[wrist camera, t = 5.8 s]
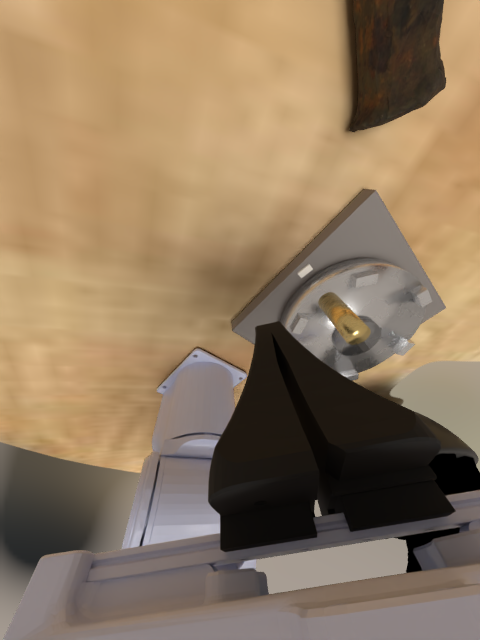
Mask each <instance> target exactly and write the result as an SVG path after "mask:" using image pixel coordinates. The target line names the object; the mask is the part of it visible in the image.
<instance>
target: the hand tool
mask: <svg viewBox="0 0 480 640" xmlns="http://www.w3.org/2000/svg"><path fill="white" fill-rule="evenodd" d="M443 4H444V0H354V8H353V20H354V24H355V29H356V47H357V69H358V88H359V91H358V107H357V112H356V116H355V118H354V120H353V122H352V124H351V126H350V131H352V132H355V131H357V130H364V129H367V128H371V127H375V126H380V125H383V124H385V123H388V122H390V121H392V120H394V119H397V118H399V117H401V116H403V115H405V114H407V113H409V112H411V111H413V110H416V109H419V108H421V107H423V106H424V105H426V104H427V103H428V102H429V101H430V100H431V99H432V98H433V97H434V96H435V95H437V94H438V93H439V92H440V91H441V90H443V89H444V88H445V85H446V78H445V72H444V66H443V61H442V60H441V59H440V57H441V55H440V47H439V37H440V28H441V22H442V13H443Z"/></svg>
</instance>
